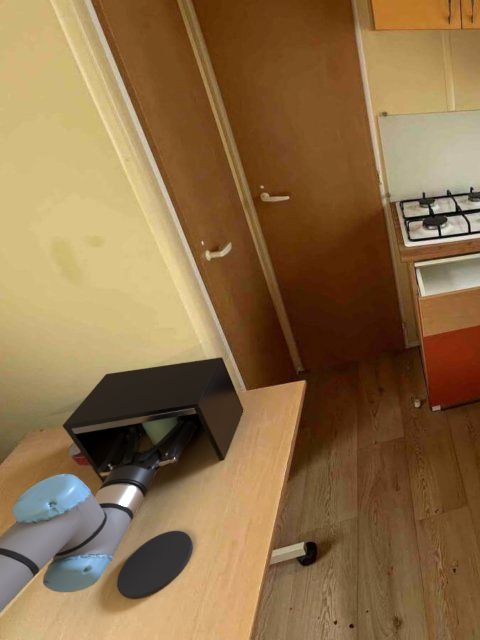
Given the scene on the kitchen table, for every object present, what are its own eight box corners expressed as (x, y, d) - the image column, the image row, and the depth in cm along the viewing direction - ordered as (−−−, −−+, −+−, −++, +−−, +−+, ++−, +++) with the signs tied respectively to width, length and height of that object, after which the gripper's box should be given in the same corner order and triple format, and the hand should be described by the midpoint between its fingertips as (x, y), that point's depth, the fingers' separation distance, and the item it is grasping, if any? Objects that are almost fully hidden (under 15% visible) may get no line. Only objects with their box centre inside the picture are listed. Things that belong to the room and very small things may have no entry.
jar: (151, 443, 99) (130, 407, 94) (185, 424, 104) (167, 388, 99) (163, 459, 96) (141, 422, 90) (197, 438, 101) (179, 401, 95)
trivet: (102, 598, 74) (99, 596, 73) (150, 533, 83) (148, 530, 83) (164, 599, 73) (162, 596, 73) (206, 533, 83) (204, 530, 83)
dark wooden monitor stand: (224, 459, 98) (197, 403, 89) (102, 483, 92) (62, 425, 84) (244, 410, 111) (222, 357, 102) (138, 428, 105) (106, 373, 97)
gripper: (69, 519, 81) (132, 424, 101) (186, 494, 85) (225, 408, 105) (49, 494, 78) (118, 402, 97) (173, 470, 82) (215, 386, 102)
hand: (173, 405), depth 101 cm, fingers closed on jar, 7 cm apart
